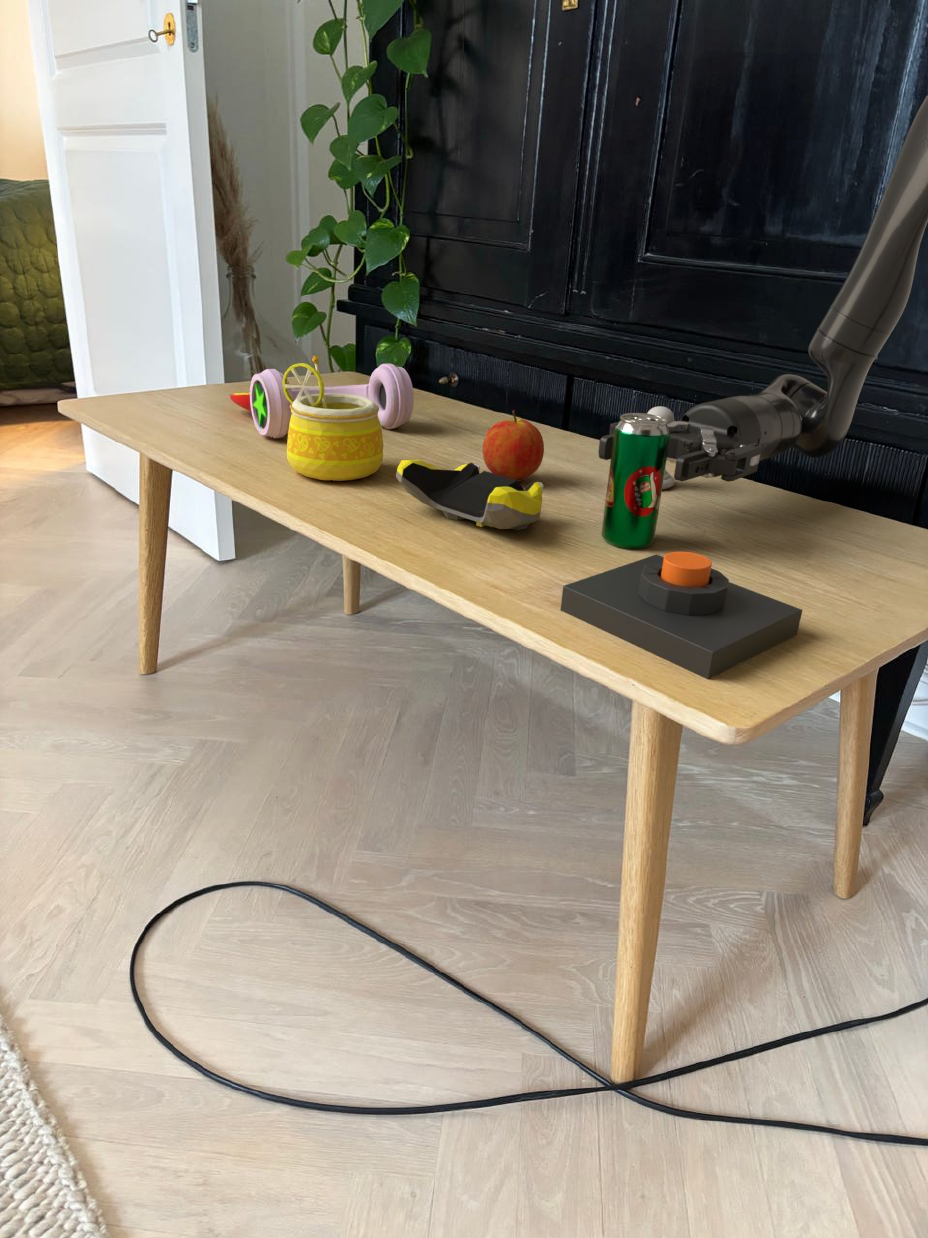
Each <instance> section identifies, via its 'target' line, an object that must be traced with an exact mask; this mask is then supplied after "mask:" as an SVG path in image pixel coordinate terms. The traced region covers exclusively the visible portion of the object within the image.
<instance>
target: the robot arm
mask: <svg viewBox="0 0 928 1238" xmlns="http://www.w3.org/2000/svg"><path fill="white" fill-rule="evenodd" d="M879 200H880V201H879V203H878V206H877V208H876V210H875V213H874V216H873V218H872V220H871V223H870V226H869V228H868V231H867V233H866V235H865V238H864V240H863V242H862V245H861V246H860V249H859V251H858V254H857V256H856V258H855V260H854V261H853V262H854V263H853V264H852V267H851V269H850V271H849V273H848V274H847V276H846V278H845V280H844V282H843V284H842V286H841V287H840V289H839V291H838V293H836V295H835V298H834V300H833V301H832V303H831V304H830V307H828V310H827V311H826V313H825V315H824V317H823V318H822V320H821V322H820V324H819V325H818V327H817V329H816V330H815V332H814V334H813V336H812V337H811V339H810V342H809V343H808V346H807V347H808V348H807V352H808V355H809V358H810V359H811V360H812V361H813V362H814V363H815V364H816V365H817V366H818V367H819V368H820V369H821V370H822V372H823V373H824V374H825V376H826V378H827V391H826V390H825V389H822V388H821V387H819V386H818V385H816V384H814V383H812V382H811V381H810V380H808V379H806V378H805V377H802V376H800V375H797V374H792V373H783V374H781V375H778V376H777V377H775V378H774V379H773V380H772V381H771V382H770V383H769V384H768V385H767V386H766V387H765V388H764V389H762V390H761V391H760V392H759V393H755V394H751V395H737V396H731V397H725V398H721V399H716V400H712V401H707V402H702V403H698V404H696V405H694V406H692V407H691V408H690V409H689V410H687V411H686V412H685V413H684V414H683V416H682V417H680V419H679V420H674V421H673V422H671V423H670V424H667V426H668V428H669V430H670V440H669V446H668V453H667V460H666V461H669V462H670V463H673V464H675V467H674V474H673V478H674V481H679V482H681V483H682V482H686V481H689V480H692V479H696V478H698V477H702V478H705V479H710V478H717V477H720V480H722V481H724V482H734V481H738V480H739V479H741V478H745V477H746V476H749V475H751V474H754V473H756V472H758V468H759V463H760V462H761V461H764V460H766V459H770V458H773V457H775V456H778V455H781V454H783V453H785V452H787V451H788V450H790V449H791V448H793V449H794V450H796V451H797V452H799V453H801V454H802V455H803V456H806V457H809V458H812V459H818V458H822V457H826V456H827V455H829V454H831V453H832V452H834V451H835V450H836V449H837V448H838V447H839V446H840V445H841V444H842V442H843V441H844V439H845V437H846V436H847V435H848V432H849V429H850V427H851V424H852V421H853V417H854V414H855V410H856V406H857V403H858V400H859V396H860V393H861V391H862V388H863V385H864V382H865V381H866V377H867V375H868V372H869V370H870V368H871V366H872V365H873V362H874V361H875V359H876V358H877V356H878V355H879V353H880V351H881V350H882V348H883V347H884V345H885V343H886V342H887V340H888V339H889V337H890V336H891V334H892V333H893V331H894V329H895V327H897V324H898V323H899V321H900V319H901V317H902V315H903V313H904V310H905V308H906V306H907V303H908V301H909V298H910V295H911V290H912V286H913V281H914V277H915V272H916V265H917V260H918V255H919V250H920V246H921V242H922V239H923V236H924V234H925V230H926V227H927V224H928V94H927V96H926V97H925V98H924V100H923V102H922V103H921V105H920V107H919V108H918V110H917V113H916V115H915V116H914V119H913V121H912V123H911V125H910V127H909V129H908V131H907V134H906V136H905V139H904V142H903V144H902V146H901V149H900V151H899V154H898V156H897V159H896V161H895V163H894V167H893V169H892V171H891V174H890V176H889V178H888V181H887V183H886V185H885V187H884V190H883V193H882V195H881V198H880V199H879ZM618 423H619V421H618V422H613V423H610V426H609V434H605V435H603V436H601V437H600V438H599V444H598V451H597V452H598V458H599V459H602V460H604V461H610V460H611V453H612V445H613V437H614V429H615V426H616V425H617V424H618Z"/></svg>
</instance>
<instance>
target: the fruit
mask: <svg viewBox="0 0 928 1238" xmlns="http://www.w3.org/2000/svg"><path fill="white" fill-rule="evenodd" d="M511 414H512V416H513V419H512V418H510V419H503V420H500V421H497V422H496V423H494V424H493V425H491V427H490V428H489V429H488V430H487V432H486V434H485V436H484V438H483V442H482V458H483V462H484V464H485V466H486V468H487V469H488V470H489V472H490V473H493V474H497V475H500V476H504V477H507V478H511V479H514V480H517V481H518V482H521V481H524V480H525V479H527V478H530V477H531V476H532V475H533V474H535V473H536V472H537V471H538V469H539V468H540V467H541V464H542V462H543V459H544V456H545V455H544V454H545V444H544V443H545V442H544V437H543V435H542V434H541V432H540V430H539V428H538V427H536V425H534V424H532V423H531V422H529V421H528V420H526V419H523V418H517V416H516V412H515V410H514V409H513V410H512V412H511Z"/></svg>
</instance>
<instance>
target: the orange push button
mask: <svg viewBox="0 0 928 1238" xmlns="http://www.w3.org/2000/svg"><path fill="white" fill-rule="evenodd" d="M663 557H664V560H663V566H662V572H661V579H662V580H664V581H666V582H669V583H671V584H674V585H679V586H685V587H704V586H707V585H708V582H709V577H710V572H711V568H712V567H713V562H712V561H711V559H709V558H708V557H706V556H705V555H703V554H699V553H695V552H691V551H679V550H678V551H670V552H667V553H666V554H664V556H663Z"/></svg>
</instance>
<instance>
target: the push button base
mask: <svg viewBox="0 0 928 1238" xmlns="http://www.w3.org/2000/svg"><path fill="white" fill-rule="evenodd" d="M663 560H664V556H661V555H658V554H653V555H651V556H648V557H645V558H644V557H643V558H642V559H639V560H636V561H633V562H630V563H627V564H623V565H621V566H618V567H615V568H612V569H609V570H606V571H603V572H600V573H597V574H595V575H591V576H589V577H586V578H585V577H584V578H582V579H580V580H576V581H574V582H570V583H568V584H565V585H563V586H562V593H561V600H560V601H561V603H560V611H561V612H563V613H565V614H567V615H570V616H572V617H574V618H576V619H578V620H580V621H583V622H584V623H586V624H589V625H591V626H593V627H595V628H597V629H599V630H601V631H603V632H606V633H608V634H610V635H612V636H614V637H616V638H618V639H621V640H623V641H625V642H627V643H629V644H631V645H633V646H635V647H637V648H640V649H642V650H644V651H646V652H648V653H650V654H652V655H655V656H657V657H659V658H661V659H662V660H665V661H667V662H669V663H671V664H674V665H676V666H678V667H680V668H682V669H684V670H686V671H688V672H691V673H692V674H695V675H697V676H699V677H700V678H704V679H706V680H710V679H713V678H714V677H716V676H718V675H720V674H722V673H724V672H726V671H728V670H730V669H732V668H734V667H736V666H739V665H741V664H742V663H745V662H746V661H748V660H750V659H752V658H754V657H756V656H758V655H760V654H762V653H763V652H766V651H768V650H770V649H772V648H773V647H776V646H778V645H780V644H783V643H784V642H786V641H788V640H790V639H791V638H794V637H795V636H797V635H798V632H799V627H800V623H801V620H802V619H801V618H802V614H803V609H802V608H799V607H796V606H794V605H791V604H788V603H786V602H783V601H780V600H778V599H775V598H772V597H770V596H767V595H764V594H762V593H760V592H757V591H754V590H752V589H749V588H747V587H743V586H741V585H738V584H735V583H734V582H730V579H729V578H728V577H726V575H724V574H723V573H722V572H720V571H719V570H717V569H715V568H712V567H711V572H710V577H709V582H708V585H707V586H704V587H685V586H679V585H674V584H671V583H669V582H666V581H664V580H662V579H661V572H662V566H663Z"/></svg>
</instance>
